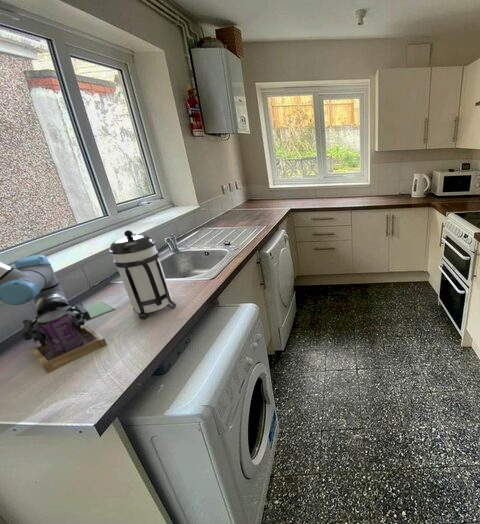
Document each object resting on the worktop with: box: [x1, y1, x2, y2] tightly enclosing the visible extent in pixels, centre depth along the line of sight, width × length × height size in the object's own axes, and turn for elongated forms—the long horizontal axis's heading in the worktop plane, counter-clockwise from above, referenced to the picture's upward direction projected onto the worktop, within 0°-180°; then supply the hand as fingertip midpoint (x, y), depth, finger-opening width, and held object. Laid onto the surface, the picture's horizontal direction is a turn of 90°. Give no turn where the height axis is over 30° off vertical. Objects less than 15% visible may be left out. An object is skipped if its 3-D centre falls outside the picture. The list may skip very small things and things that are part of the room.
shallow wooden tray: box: [29, 324, 108, 374], centre depth 85 cm, size 14×13×2 cm
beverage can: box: [37, 310, 85, 357], centre depth 83 cm, size 7×7×12 cm
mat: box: [73, 300, 116, 323], centre depth 105 cm, size 12×12×1 cm
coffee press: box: [108, 229, 177, 321], centre depth 99 cm, size 17×16×30 cm
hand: (61, 335), depth 79 cm, fingers closed on beverage can, 7 cm apart
